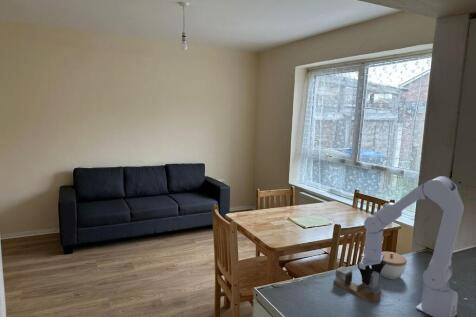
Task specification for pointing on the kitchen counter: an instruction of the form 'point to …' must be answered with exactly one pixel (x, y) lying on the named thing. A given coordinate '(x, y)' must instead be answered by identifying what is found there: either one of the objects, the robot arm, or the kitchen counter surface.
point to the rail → (354, 285)
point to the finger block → (373, 280)
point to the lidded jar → (393, 265)
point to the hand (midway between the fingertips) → (370, 281)
